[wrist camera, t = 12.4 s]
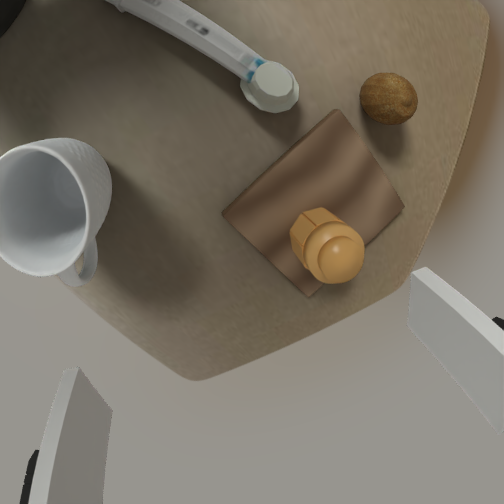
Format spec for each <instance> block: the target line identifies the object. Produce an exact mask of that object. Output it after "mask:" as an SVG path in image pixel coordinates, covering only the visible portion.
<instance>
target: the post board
mask: <svg viewBox="0 0 504 504" xmlns="http://www.w3.org/2000/svg"><path fill="white" fill-rule="evenodd" d="M320 207H322V208H325V209H326V210H328V211H329V212H331V213H332V214H334V215H335V216H337V217H338V218H339V219H341V220H342V221H343V222H345V223H346V224H347V225H349V226H350V227H351V228H353V229H354V230H355V231H356V232H357V233H358V234H359V235H360V236H361V238H362V240H363V243H364V246H365V245H367V244H368V243H369V242H370V241H371V240H372V239H373V238H374V237H375V236H376V235H377V234H378V233H379V232H380V231H381V230H382V229H383V228H384V227H385V226H386V225H387V224H388V223H389V222H390V221H391V220H392V219H393V218H394V217H395V216H396V215H397V214H398V213H399V212H400V211H401V210H402V209H403V208H404V207H405V206H404V204H403V202H402V201H401V199H400V197H399V196H398V194H397V192H396V191H395V189H394V188H393V186H392V184H391V183H390V181H389V180H388V178H387V176H386V175H385V173H384V172H383V170H382V169H381V167H380V166H379V164H378V163H377V161H376V160H375V158H374V157H373V155H372V154H371V152H370V151H369V149H368V148H367V146H366V145H365V144H364V142H363V141H362V139H361V138H360V137H359V135H358V134H357V132H356V131H355V130H354V128H353V127H352V126H351V124H350V123H349V121H348V120H347V119H346V117H345V116H344V115H343V114H342V112H341V111H340V110H339V109H334V110H333V111H332V112H330V113H329V114H328V115H327V116H326V117H325V118H324V119H322V120H321V121H320V122H319V123H318V124H317V125H316V126H314V127H313V128H312V129H311V130H310V131H309V132H308V133H307V134H305V135H304V136H303V137H302V138H301V139H300V140H299V141H298V142H297V143H295V144H294V145H293V146H292V147H291V148H290V149H289V150H288V151H287V152H285V153H284V154H283V155H282V156H281V157H280V158H279V159H278V160H277V161H276V162H275V163H273V164H272V165H271V166H270V167H269V168H268V169H267V170H266V171H265V172H264V173H263V174H262V175H261V176H259V177H258V178H257V179H256V180H255V181H254V182H253V183H252V184H251V185H250V186H249V187H248V188H247V189H246V190H245V191H244V192H243V193H242V194H240V195H239V196H238V197H237V198H236V199H235V200H234V201H233V202H232V203H231V204H230V205H229V206H228V207H227V208H226V209H225V210H224V211H223V212H222V215H223V217H224V218H225V219H226V220H227V221H228V222H229V223H230V224H231V225H232V226H233V227H234V228H236V229H237V230H238V231H239V232H240V233H241V234H242V235H243V236H244V237H245V238H246V239H247V240H248V241H249V242H250V243H251V244H252V245H253V246H255V247H256V248H257V249H258V250H259V251H260V252H261V253H262V254H263V255H264V256H265V257H266V258H267V259H268V260H269V261H270V262H271V263H272V264H273V265H275V266H276V267H277V268H278V269H279V270H280V271H281V272H282V273H283V274H284V275H285V276H286V277H287V278H288V279H289V280H290V281H291V282H292V283H293V284H295V285H296V286H297V287H298V288H299V289H300V290H301V291H302V292H303V293H304V294H305V295H306V296H307V297H308V298H309V297H310V296H311V295H312V294H313V293H314V292H315V291H316V290H318V289H319V288H320V287H321V286H322V285H323V284H324V283H323V282H321V281H319V280H318V279H316V278H315V277H314V275H313V274H312V273H311V271H310V270H308V269H306V268H305V267H304V265H303V264H302V262H301V261H300V260H299V258H298V257H297V256H296V254H295V253H294V251H293V250H292V244H291V239H290V233H289V232H291V231H290V229H291V228H292V226H293V225H294V223H295V222H296V220H297V219H298V217H299V215H300V214H303V212H305V211H309V210H313V209H316V208H320Z"/></svg>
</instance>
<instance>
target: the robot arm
mask: <svg viewBox="0 0 504 504" xmlns="http://www.w3.org/2000/svg"><path fill="white" fill-rule="evenodd" d="M24 2H25V0H0V37H1V36H2V34H3V33H4V32H5V31H6V30H7V29H8V28H9V26H10V25H11V24H12V22H13V21H14V20H15V18H16V17H17V15H18V13H19V12H20V10H21V8H22V6H23V5H24ZM407 327H408V328H409V329H410V330H411V331H412V332H413V333H414V334H415V336H416V337H417V338H418V339H419V340H420V341H421V342H422V343H423V345H424V346H425V347H426V348H427V349H428V350H429V351H430V352H431V354H432V355H433V356H434V357H435V358H436V359H437V361H438V362H439V363H440V364H441V365H442V366H443V367H444V369H445V370H446V371H447V372H448V373H449V375H450V376H451V377H452V378H453V379H454V380H455V382H456V383H457V384H458V385H459V387H460V388H461V389H462V390H463V391H464V392H465V394H466V395H467V396H468V397H469V398H470V400H471V401H472V402H473V404H474V405H475V406H476V407H477V408H478V410H479V411H480V412H481V414H482V415H483V416H484V417H485V419H486V420H487V421H488V423H489V424H490V425H491V426H492V428H493V429H494V430H495V432H496V433H497V434H498V435H500V434H501V433H502V432H504V320H503V319H501V318H498V317H495V318H493V319H492V320H491V319H490V318H488V317H487V316H486V315H485V314H484V313H483V312H482V311H481V310H479V309H478V308H477V307H476V306H475V305H473V304H472V303H471V302H470V301H469V300H467V299H466V298H465V297H464V296H463V295H461V294H460V293H459V292H458V291H456V290H455V289H454V288H453V287H451V286H450V285H449V284H447V283H446V282H445V281H444V280H443V279H441V278H440V277H439V276H438V275H436V274H435V273H434V272H432V271H431V270H430V269H428V268H427V267H424V268H421V269H418V270H416V271H413V272H411V284H410V298H409V310H408V321H407ZM111 418H112V409H111V408H110V407H109V406H108V404H107V403H106V402H105V401H104V399H103V398H102V397H101V396H100V394H99V393H98V392H97V390H96V389H95V388H94V387H93V385H92V384H91V383H90V381H89V380H88V378H87V377H86V376H85V374H84V373H83V372H82V370H81V369H80V367H76V368H70V369H65V370H64V372H63V374H62V378H61V380H60V383H59V386H58V389H57V392H56V395H55V398H54V401H53V405H52V408H51V411H50V414H49V418H48V421H47V425H46V428H45V432H44V435H43V439H42V443H41V447H40V450H35V451H34V453H33V455H32V456H31V458H30V460H29V462H28V466H27V471H26V474H27V475H25V479H24V483H25V484H24V485H23V489H22V494H21V499H20V504H103V489H104V477H105V466H106V457H107V446H108V440H109V431H110V424H111Z"/></svg>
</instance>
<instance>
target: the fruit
mask: <svg viewBox="0 0 504 504" xmlns="http://www.w3.org/2000/svg"><path fill="white" fill-rule="evenodd" d="M360 102H361V105H362V107H363V109H364V111H365V112H366V113H367V114H368V115H369V116H370V117H371V118H372V119H373V120H375V121H377V122H380V123H383V124H386V125H393V124H401V123H404V122H405V121H407V120H408V119H410V118H411V117H412V116H413V114H414V113H415V111H416V109H417V103H418V99H417V94H416V92H415V89H414V87H413V86H412V85H411V84H410V82H409V81H408V80H406V79H405V78H403V77H401V76H399V75H397V74H394V73H378V74H375V75H373V76H372V77H370V78H368V79H367V80H366V81H365V83H364V84H363V86H362V87H361V91H360Z"/></svg>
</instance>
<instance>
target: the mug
mask: <svg viewBox="0 0 504 504" xmlns="http://www.w3.org/2000/svg"><path fill="white" fill-rule="evenodd" d="M111 180H112V179H111V174H110V170H109V169H108V166H107V164H106V162H105V160H104V159H103V157H102V156H101V155H100V154H99V152H97V150H95V149H94V148H93V147H91V146H89V145H88V144H87V143H84V142H82V141H78V140H76V139H70V138H52V139H46V140H39V141H37V142H31V143H29V144H25V145H21V146H18V147H16V148H13V149H11V150H9V151H8V152H6V153H5V154H4V155H2V156H1V157H0V257H1V258H3V260H4V261H6V262H7V263H8V264H9V265H11V266H12V267H13V268H15V269H17V270H18V271H20V272H22V273H25V274H28V275H32V276H37V277H47V276H53V275H56V274H57V275H58V276H59V277H60V279H61V280H62V281H63V282H64V283H65V284H67V285H69V286H82V285H85V284H87V283H88V282H89V281H90V280H91V279H92V278H93V276H94V274H95V271H96V268H97V263H98V250H97V244H96V239H95V236H96V234H97V233H98V230H99V229H100V228H101V226H102V223H103V222H104V220H105V217H106V215H107V212H108V209H109V205H110V202H111V195H112V181H111ZM83 252H84V263H83V267H82V270H81V273H80V274H79V275H78V273H77V270H76V267H75V262H76V261H77V259H78V258H79V257H80V256H81V254H82V253H83Z"/></svg>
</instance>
